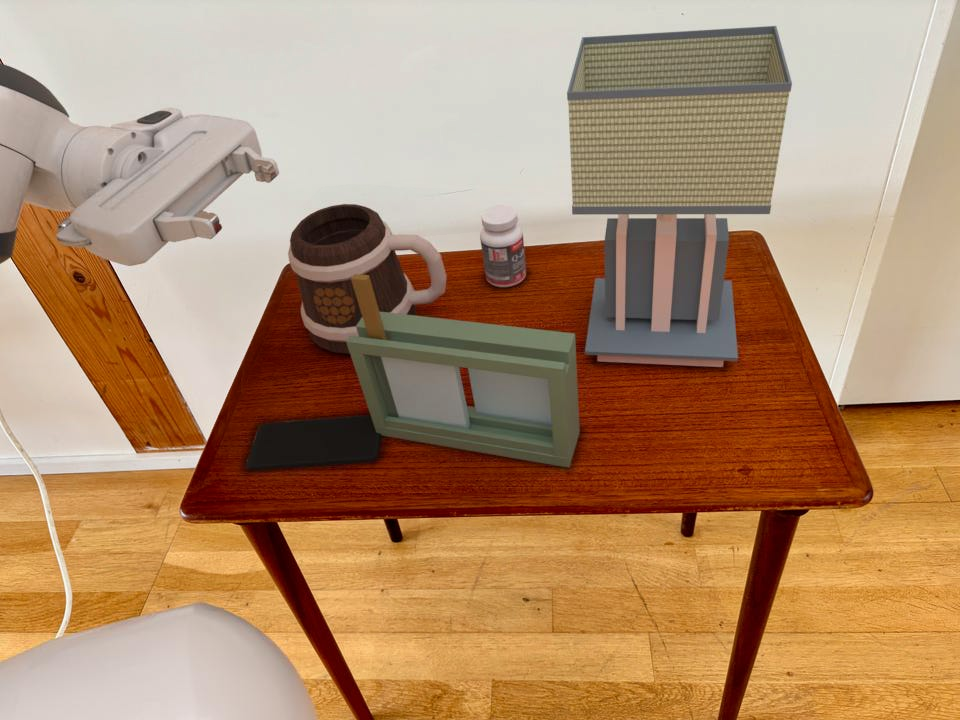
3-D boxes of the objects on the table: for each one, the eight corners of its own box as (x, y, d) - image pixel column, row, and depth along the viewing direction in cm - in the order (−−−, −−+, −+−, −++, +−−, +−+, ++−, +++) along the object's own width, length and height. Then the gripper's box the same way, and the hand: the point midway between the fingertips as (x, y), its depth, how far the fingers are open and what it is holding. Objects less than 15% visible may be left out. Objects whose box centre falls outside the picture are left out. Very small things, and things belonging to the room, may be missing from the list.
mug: (294, 360, 91) (255, 264, 81) (324, 289, 102) (292, 196, 92) (446, 356, 88) (425, 255, 78) (460, 283, 99) (443, 186, 89)
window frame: (569, 468, 73) (563, 369, 64) (376, 434, 80) (345, 341, 70) (579, 432, 76) (575, 333, 67) (394, 403, 83) (366, 309, 74)
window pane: (467, 432, 76) (438, 287, 63) (390, 419, 79) (347, 278, 66) (470, 425, 77) (442, 281, 64) (394, 413, 79) (352, 272, 67)
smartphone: (259, 422, 83) (384, 412, 82) (261, 427, 84) (386, 417, 82) (243, 468, 78) (377, 458, 76) (245, 473, 78) (378, 463, 77)
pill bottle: (523, 289, 96) (517, 226, 89) (482, 288, 97) (473, 226, 91) (529, 264, 100) (523, 202, 94) (489, 264, 101) (481, 203, 95)
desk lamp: (736, 296, 89) (775, 24, 68) (743, 374, 79) (792, 84, 58) (589, 293, 94) (582, 36, 72) (578, 366, 84) (566, 94, 62)
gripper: (25, 207, 59) (160, 233, 55) (177, 99, 73) (294, 114, 69) (61, 267, 64) (188, 295, 60) (198, 155, 77) (309, 172, 73)
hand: (246, 197), depth 64 cm, fingers open, 8 cm apart
